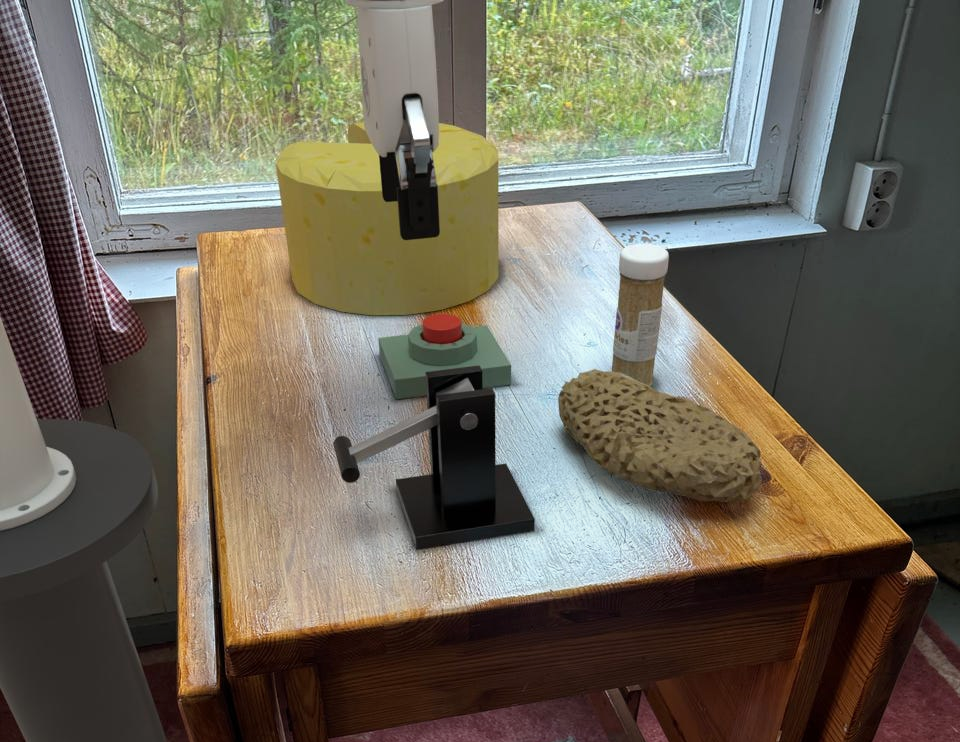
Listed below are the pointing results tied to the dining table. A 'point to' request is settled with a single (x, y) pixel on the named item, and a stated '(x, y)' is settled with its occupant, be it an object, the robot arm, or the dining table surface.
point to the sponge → (659, 438)
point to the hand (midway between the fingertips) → (410, 217)
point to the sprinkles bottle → (639, 310)
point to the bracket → (462, 471)
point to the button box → (441, 359)
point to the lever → (387, 437)
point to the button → (442, 329)
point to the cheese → (388, 226)
